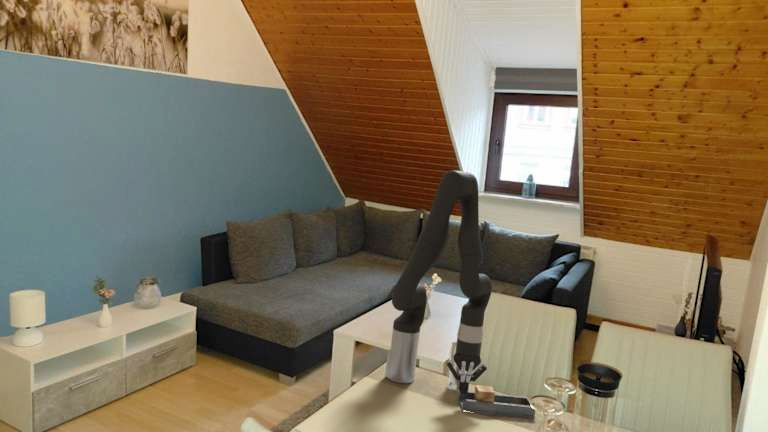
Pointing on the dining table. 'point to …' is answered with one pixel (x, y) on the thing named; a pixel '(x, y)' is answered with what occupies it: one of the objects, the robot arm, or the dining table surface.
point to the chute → (498, 405)
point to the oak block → (484, 393)
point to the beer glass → (453, 382)
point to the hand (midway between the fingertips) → (462, 392)
